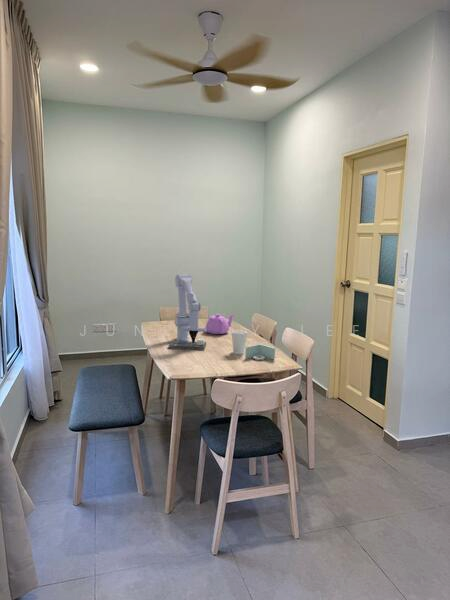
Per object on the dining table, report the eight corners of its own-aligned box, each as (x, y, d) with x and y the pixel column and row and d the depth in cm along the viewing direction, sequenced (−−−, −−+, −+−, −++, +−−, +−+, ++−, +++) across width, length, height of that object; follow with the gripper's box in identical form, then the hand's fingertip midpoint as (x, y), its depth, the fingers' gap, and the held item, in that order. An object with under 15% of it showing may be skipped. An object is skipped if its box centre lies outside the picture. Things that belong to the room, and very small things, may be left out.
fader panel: (172, 343, 264) (172, 340, 264) (206, 345, 264) (206, 342, 263) (168, 348, 253) (168, 345, 252) (204, 350, 252) (204, 346, 252)
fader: (197, 342, 260) (197, 338, 260) (204, 343, 260) (204, 338, 259) (197, 344, 255) (197, 340, 255) (203, 345, 255) (203, 340, 255)
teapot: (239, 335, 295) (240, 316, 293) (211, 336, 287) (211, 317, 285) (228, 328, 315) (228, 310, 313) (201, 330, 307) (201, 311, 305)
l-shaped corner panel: (245, 359, 237) (245, 347, 236) (258, 356, 245) (259, 343, 244) (260, 364, 228) (261, 351, 227) (274, 360, 237) (275, 348, 236)
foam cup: (232, 354, 244) (233, 333, 242) (229, 350, 253) (230, 330, 251) (247, 354, 246) (248, 333, 244) (244, 350, 255) (245, 329, 253)
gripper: (181, 322, 252) (181, 343, 254) (204, 323, 251) (204, 344, 253) (183, 319, 259) (182, 340, 261) (205, 320, 258) (205, 341, 260)
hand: (193, 342), depth 258 cm, fingers closed
